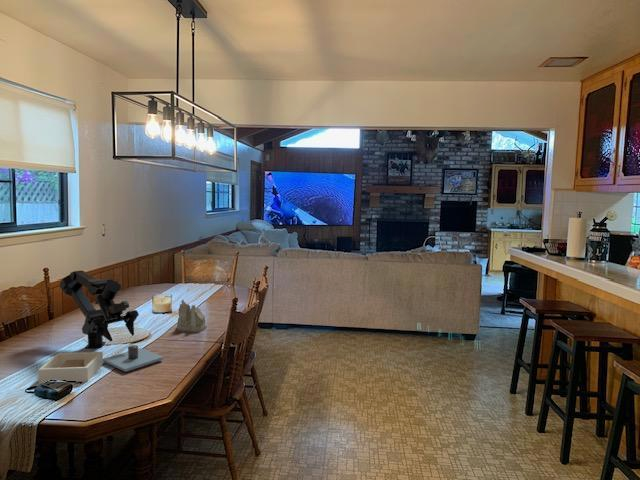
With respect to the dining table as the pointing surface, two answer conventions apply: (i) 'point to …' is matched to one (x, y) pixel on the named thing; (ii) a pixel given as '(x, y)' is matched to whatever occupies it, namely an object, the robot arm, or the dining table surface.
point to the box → (71, 367)
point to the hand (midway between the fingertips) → (122, 337)
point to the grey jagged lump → (190, 318)
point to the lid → (133, 359)
